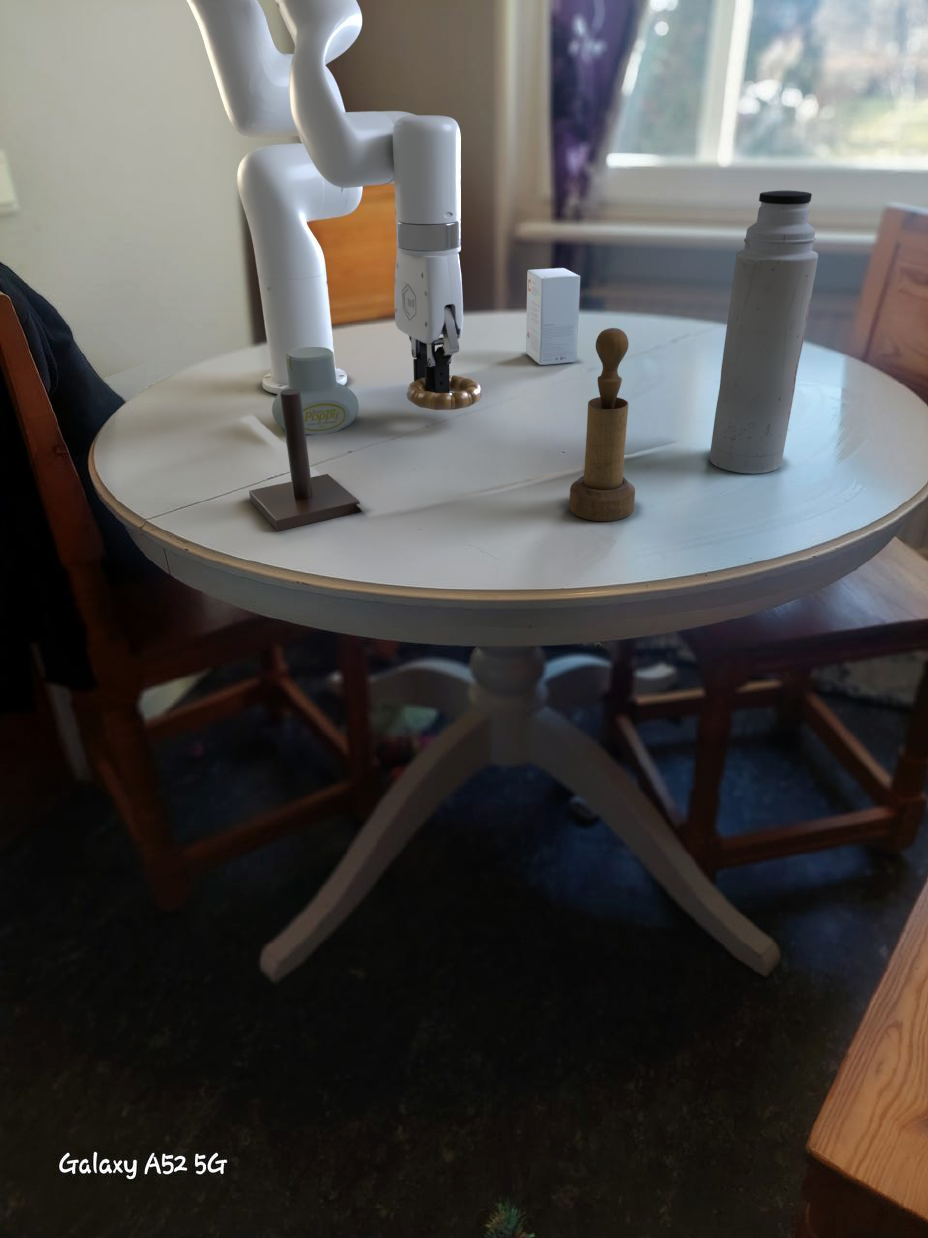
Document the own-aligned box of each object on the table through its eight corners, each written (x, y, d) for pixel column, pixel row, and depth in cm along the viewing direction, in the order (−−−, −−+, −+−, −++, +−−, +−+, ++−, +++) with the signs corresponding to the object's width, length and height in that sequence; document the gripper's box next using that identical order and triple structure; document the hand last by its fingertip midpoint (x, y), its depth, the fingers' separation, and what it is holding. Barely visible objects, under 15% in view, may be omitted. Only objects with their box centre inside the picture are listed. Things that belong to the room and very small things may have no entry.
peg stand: (250, 500, 93) (232, 387, 87) (328, 483, 97) (316, 374, 91) (277, 531, 87) (260, 411, 80) (360, 511, 90) (350, 395, 84)
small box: (577, 362, 138) (581, 275, 131) (539, 365, 137) (541, 278, 130) (561, 350, 145) (564, 266, 138) (524, 353, 143) (526, 269, 137)
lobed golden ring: (395, 395, 111) (394, 379, 110) (458, 384, 114) (458, 369, 113) (428, 416, 104) (428, 400, 103) (494, 404, 108) (494, 388, 107)
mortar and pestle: (592, 527, 86) (603, 340, 77) (556, 504, 91) (563, 326, 82) (646, 512, 88) (663, 331, 79) (609, 491, 93) (621, 318, 84)
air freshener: (352, 416, 117) (346, 340, 112) (366, 435, 111) (360, 355, 105) (271, 426, 114) (260, 348, 109) (280, 446, 108) (269, 365, 103)
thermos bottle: (777, 450, 103) (823, 187, 88) (784, 475, 96) (835, 195, 82) (708, 447, 104) (742, 187, 90) (710, 471, 98) (747, 195, 83)
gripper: (371, 230, 106) (379, 379, 116) (431, 250, 94) (435, 415, 104) (425, 225, 109) (429, 371, 119) (491, 244, 97) (488, 405, 107)
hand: (431, 390), depth 112 cm, fingers closed on lobed golden ring, 2 cm apart
